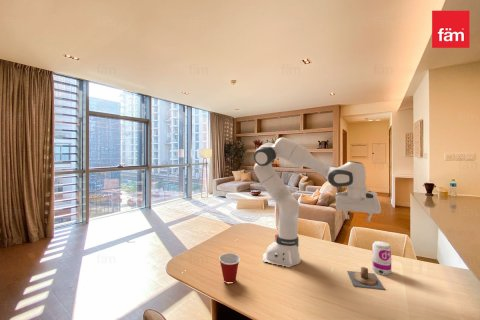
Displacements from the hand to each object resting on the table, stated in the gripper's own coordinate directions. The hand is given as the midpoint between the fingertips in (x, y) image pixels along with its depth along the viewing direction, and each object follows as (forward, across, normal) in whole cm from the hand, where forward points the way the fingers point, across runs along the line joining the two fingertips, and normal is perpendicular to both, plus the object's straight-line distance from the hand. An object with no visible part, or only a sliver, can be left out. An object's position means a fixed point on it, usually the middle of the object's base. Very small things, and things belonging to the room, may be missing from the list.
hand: (357, 220), depth 110 cm
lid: (+28, +2, -3) cm, 28 cm away
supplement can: (+29, +9, +10) cm, 32 cm away
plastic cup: (+27, -52, -41) cm, 72 cm away
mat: (+29, +2, -3) cm, 29 cm away
